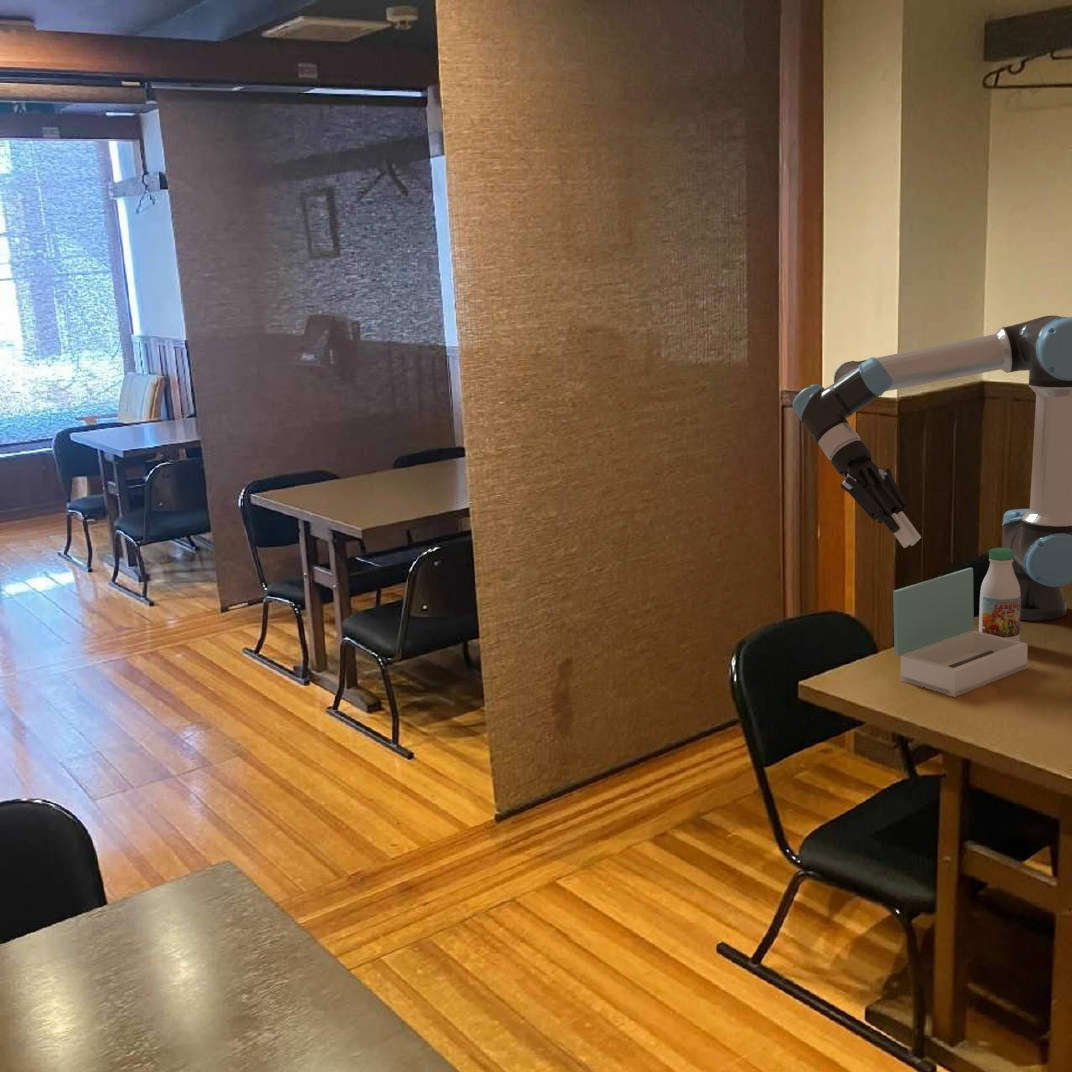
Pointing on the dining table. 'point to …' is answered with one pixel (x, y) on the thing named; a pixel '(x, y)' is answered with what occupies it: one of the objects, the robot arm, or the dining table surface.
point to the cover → (933, 611)
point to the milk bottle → (1000, 597)
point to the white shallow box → (963, 662)
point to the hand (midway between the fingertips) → (912, 542)
